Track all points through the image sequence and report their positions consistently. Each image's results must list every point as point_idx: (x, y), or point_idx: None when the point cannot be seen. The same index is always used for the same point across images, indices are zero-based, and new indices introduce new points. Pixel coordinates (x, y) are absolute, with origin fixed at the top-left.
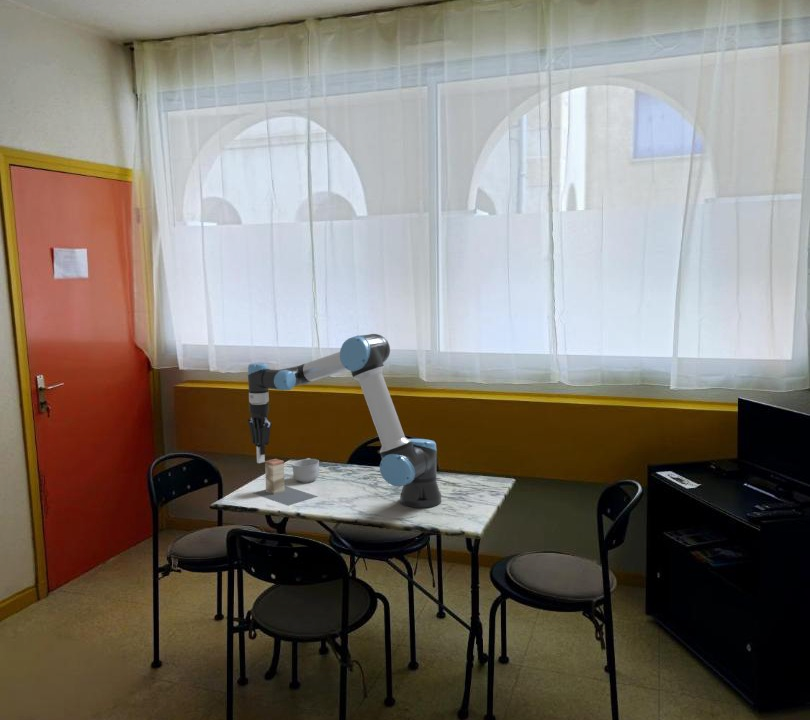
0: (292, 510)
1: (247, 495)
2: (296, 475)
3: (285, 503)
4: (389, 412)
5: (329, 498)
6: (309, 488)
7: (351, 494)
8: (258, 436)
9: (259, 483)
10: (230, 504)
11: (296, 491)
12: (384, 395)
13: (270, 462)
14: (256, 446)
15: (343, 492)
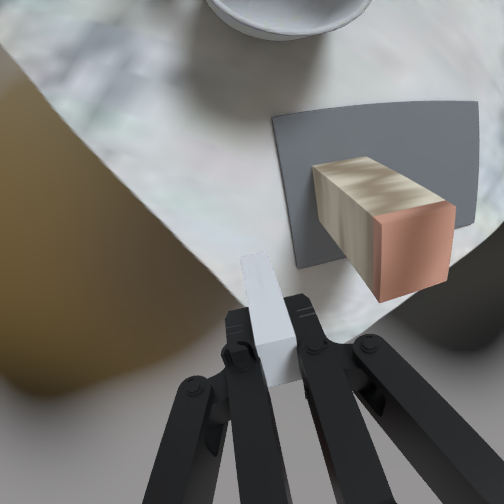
0: (492, 225)
1: (298, 285)
2: (295, 39)
3: (460, 221)
4: None
5: (496, 84)
6: (382, 47)
7: (498, 16)
8: (281, 454)
9: (165, 191)
10: (340, 343)
11: (398, 120)
12: None
13: (423, 285)
14: (269, 386)
15: (477, 12)
